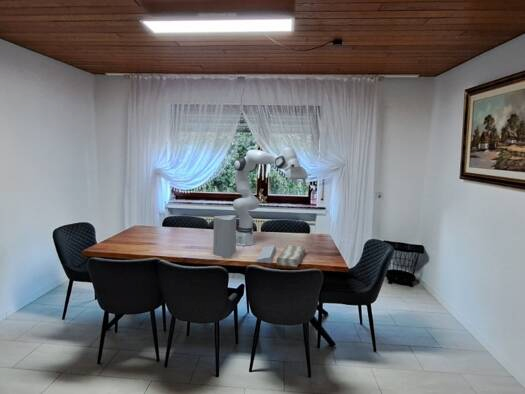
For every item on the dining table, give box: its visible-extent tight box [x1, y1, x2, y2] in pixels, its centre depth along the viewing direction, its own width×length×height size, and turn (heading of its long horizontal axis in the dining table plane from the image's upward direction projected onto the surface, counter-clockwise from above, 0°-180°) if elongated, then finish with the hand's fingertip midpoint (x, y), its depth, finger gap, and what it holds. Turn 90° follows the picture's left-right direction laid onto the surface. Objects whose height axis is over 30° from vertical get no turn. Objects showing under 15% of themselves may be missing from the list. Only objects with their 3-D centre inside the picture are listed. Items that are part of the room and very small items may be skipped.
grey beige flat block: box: [276, 244, 306, 268], centre depth 266 cm, size 14×36×5 cm, turn 165°
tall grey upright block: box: [212, 214, 237, 259], centre depth 272 cm, size 19×15×28 cm
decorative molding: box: [256, 244, 277, 264], centre depth 271 cm, size 34×5×10 cm
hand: (300, 184), depth 262 cm, fingers open, 8 cm apart
